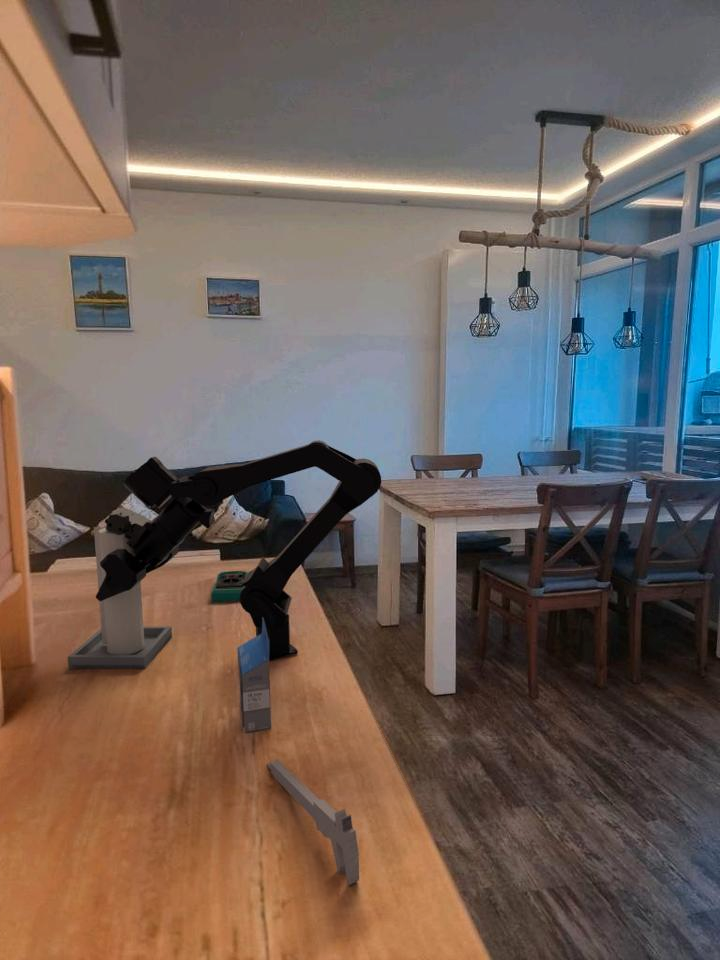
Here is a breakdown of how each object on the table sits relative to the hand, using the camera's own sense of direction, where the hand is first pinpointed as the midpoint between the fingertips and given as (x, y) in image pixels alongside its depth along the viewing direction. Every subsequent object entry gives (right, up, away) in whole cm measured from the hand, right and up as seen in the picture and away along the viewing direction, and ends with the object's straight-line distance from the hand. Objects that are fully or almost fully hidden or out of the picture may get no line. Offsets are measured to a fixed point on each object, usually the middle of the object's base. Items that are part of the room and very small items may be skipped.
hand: (111, 589), depth 99 cm
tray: (+1, -11, +2) cm, 11 cm away
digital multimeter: (+13, -7, +33) cm, 36 cm away
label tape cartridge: (+28, -14, -18) cm, 36 cm away
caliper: (+37, -17, -38) cm, 56 cm away
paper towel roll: (+2, -11, +2) cm, 11 cm away
